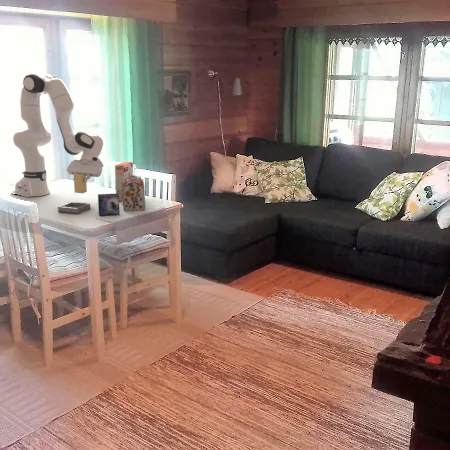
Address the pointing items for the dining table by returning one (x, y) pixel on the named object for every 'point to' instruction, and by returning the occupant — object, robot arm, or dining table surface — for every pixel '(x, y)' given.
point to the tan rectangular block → (80, 183)
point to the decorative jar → (133, 194)
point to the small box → (108, 204)
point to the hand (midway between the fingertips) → (79, 181)
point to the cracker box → (122, 175)
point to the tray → (74, 208)
